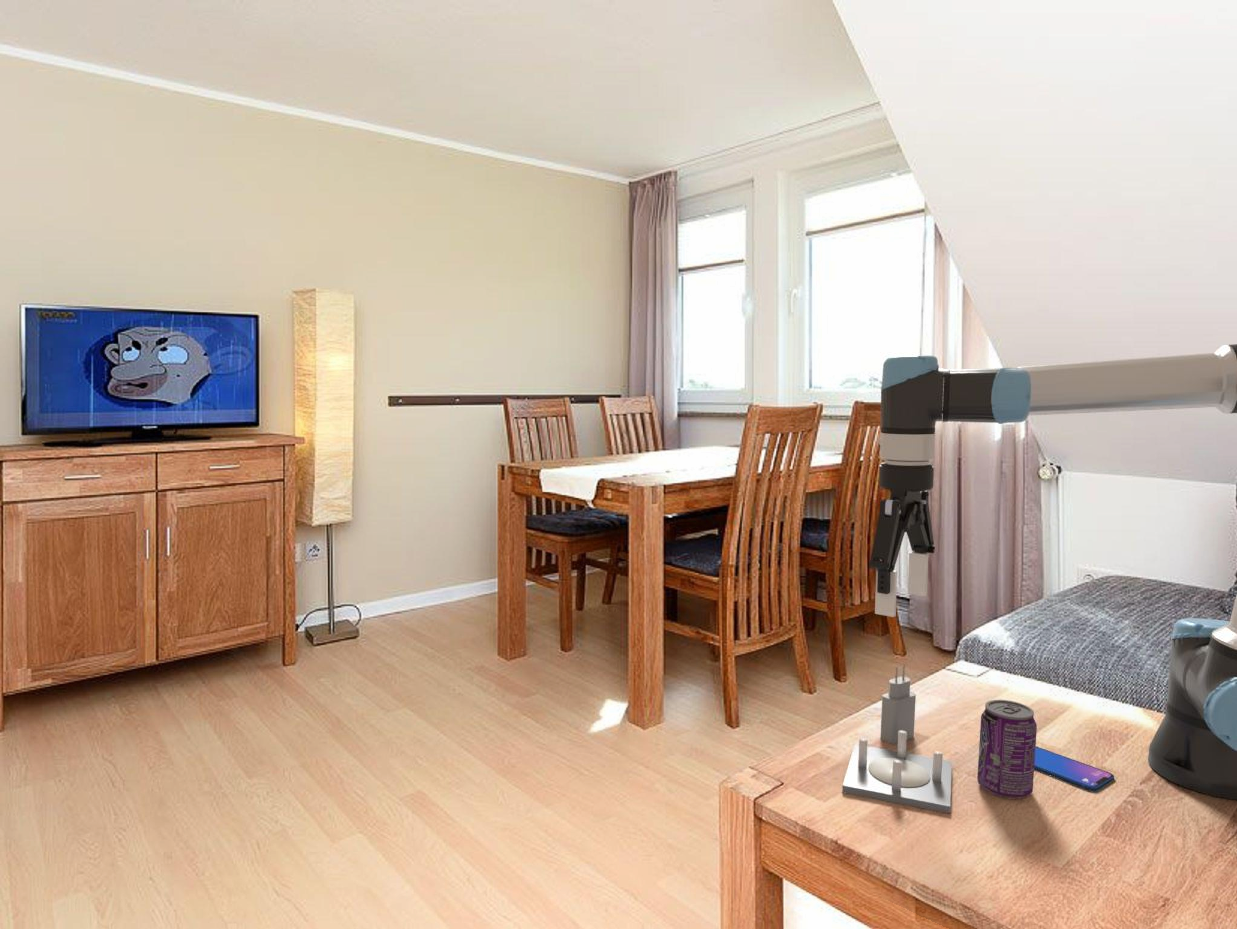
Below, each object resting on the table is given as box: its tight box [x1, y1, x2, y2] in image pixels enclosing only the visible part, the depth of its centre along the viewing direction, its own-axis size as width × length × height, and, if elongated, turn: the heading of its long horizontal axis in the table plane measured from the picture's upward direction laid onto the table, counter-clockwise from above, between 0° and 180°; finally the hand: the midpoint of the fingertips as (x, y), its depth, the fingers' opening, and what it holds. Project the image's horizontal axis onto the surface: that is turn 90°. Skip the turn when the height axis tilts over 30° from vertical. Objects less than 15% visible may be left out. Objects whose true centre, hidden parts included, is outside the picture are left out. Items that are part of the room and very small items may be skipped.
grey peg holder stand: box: [841, 730, 953, 814], centre depth 117 cm, size 14×14×5 cm
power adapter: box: [880, 664, 917, 745], centre depth 130 cm, size 3×5×12 cm, turn 125°
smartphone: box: [1034, 745, 1115, 792], centre depth 122 cm, size 7×1×15 cm
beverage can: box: [976, 699, 1038, 799], centre depth 114 cm, size 7×7×12 cm
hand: (901, 604), depth 120 cm, fingers open, 13 cm apart
